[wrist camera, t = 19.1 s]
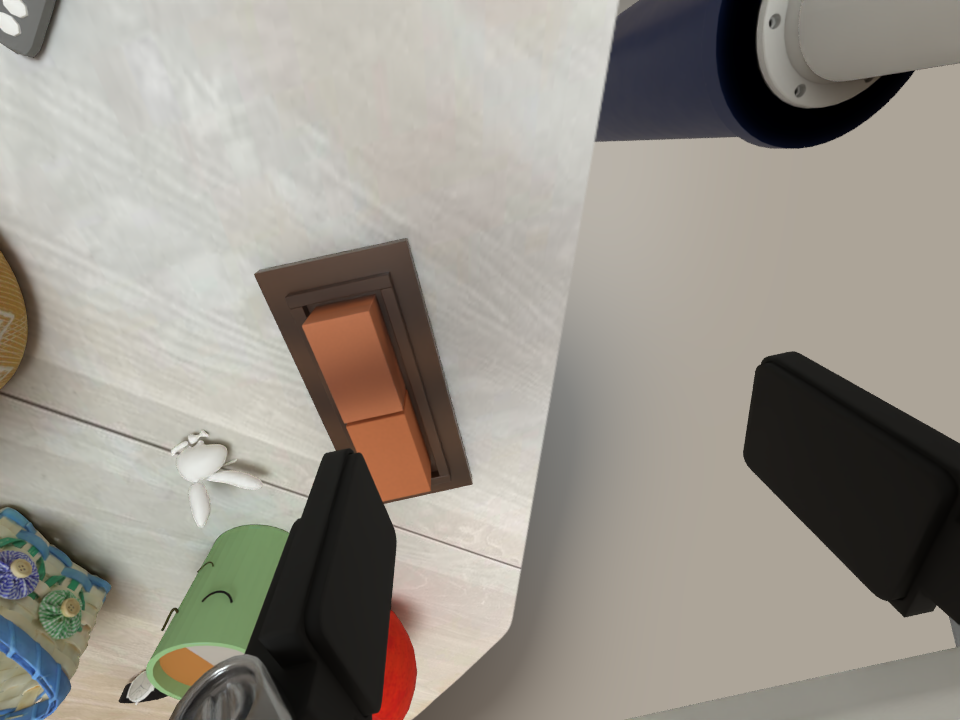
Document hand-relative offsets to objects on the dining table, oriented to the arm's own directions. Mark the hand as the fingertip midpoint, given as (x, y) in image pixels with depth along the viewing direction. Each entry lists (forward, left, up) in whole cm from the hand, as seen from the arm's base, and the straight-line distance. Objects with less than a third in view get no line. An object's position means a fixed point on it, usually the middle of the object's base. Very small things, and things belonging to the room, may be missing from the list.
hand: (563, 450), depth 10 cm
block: (+11, +16, -25) cm, 32 cm away
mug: (+32, +30, -26) cm, 51 cm away
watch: (+53, +48, -26) cm, 76 cm away
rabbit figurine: (+28, +16, -26) cm, 42 cm away
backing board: (+11, +12, -26) cm, 31 cm away
